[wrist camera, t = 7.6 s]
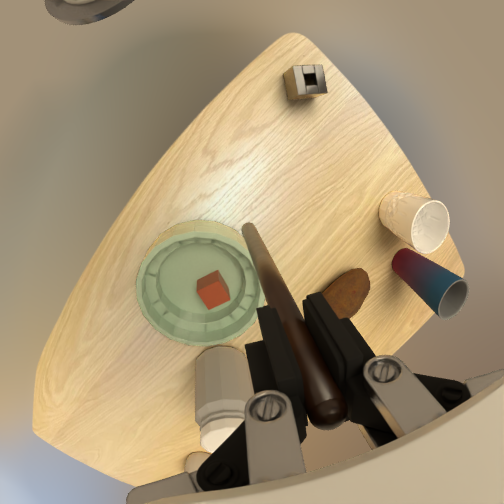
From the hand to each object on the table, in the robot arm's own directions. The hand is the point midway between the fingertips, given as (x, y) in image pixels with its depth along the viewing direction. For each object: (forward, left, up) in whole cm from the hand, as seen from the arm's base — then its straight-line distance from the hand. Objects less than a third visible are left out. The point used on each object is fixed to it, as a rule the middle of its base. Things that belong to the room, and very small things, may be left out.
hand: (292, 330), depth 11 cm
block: (-6, -13, -31) cm, 34 cm away
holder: (+12, +14, -31) cm, 36 cm away
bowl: (-7, -11, -31) cm, 34 cm away
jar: (-8, -29, -32) cm, 44 cm away
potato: (+14, -19, -32) cm, 40 cm away
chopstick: (0, 0, -15) cm, 15 cm away
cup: (+28, -17, -32) cm, 46 cm away
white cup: (+26, -7, -32) cm, 41 cm away
